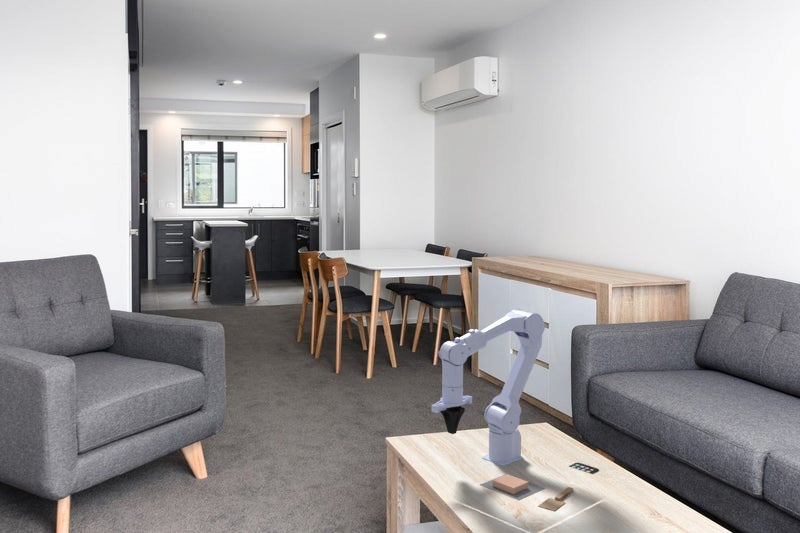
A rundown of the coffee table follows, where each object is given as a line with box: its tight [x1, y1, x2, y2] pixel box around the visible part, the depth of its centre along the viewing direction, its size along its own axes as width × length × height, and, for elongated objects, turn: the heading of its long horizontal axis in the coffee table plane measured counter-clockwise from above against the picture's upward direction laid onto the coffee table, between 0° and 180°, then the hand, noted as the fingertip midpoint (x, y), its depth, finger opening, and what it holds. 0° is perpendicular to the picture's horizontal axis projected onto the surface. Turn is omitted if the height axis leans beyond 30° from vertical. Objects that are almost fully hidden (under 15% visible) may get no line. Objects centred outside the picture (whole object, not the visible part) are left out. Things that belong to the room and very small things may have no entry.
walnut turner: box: [537, 486, 574, 512], centre depth 179 cm, size 14×4×1 cm, turn 142°
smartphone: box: [568, 462, 599, 475], centre depth 197 cm, size 7×1×15 cm
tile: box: [492, 473, 529, 494], centre depth 186 cm, size 2×7×6 cm
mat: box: [479, 473, 546, 501], centre depth 187 cm, size 11×13×1 cm
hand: (451, 432), depth 198 cm, fingers closed
